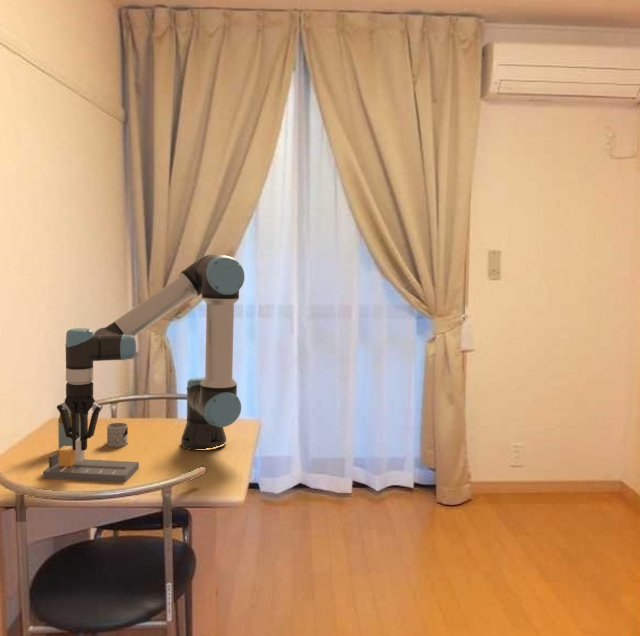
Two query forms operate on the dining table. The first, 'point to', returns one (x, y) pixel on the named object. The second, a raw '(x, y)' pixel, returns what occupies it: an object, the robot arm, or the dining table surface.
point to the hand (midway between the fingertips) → (79, 460)
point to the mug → (117, 434)
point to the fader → (67, 456)
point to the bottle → (62, 436)
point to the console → (91, 470)
